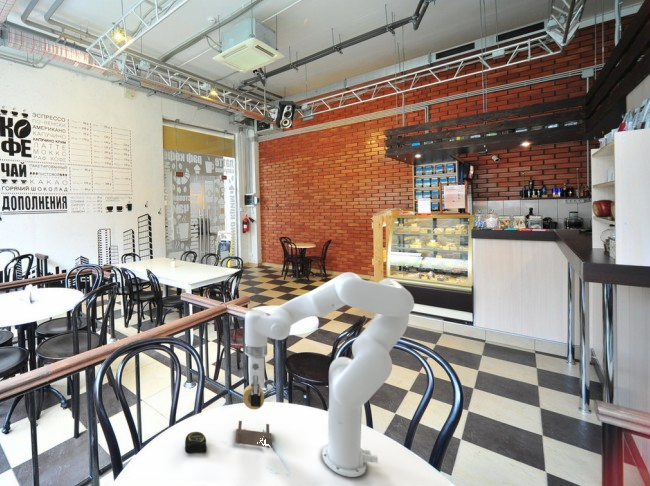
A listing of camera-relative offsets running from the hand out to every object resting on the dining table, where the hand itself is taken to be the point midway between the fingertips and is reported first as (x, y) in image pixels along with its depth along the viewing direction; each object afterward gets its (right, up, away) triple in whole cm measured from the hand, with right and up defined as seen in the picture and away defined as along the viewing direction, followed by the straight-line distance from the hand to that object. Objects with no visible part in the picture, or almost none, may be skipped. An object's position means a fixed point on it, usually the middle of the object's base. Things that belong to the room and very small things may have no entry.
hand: (255, 402), depth 110 cm
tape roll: (0, -1, 0) cm, 1 cm away
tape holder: (-1, -13, 0) cm, 13 cm away
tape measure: (-20, -13, -5) cm, 24 cm away
